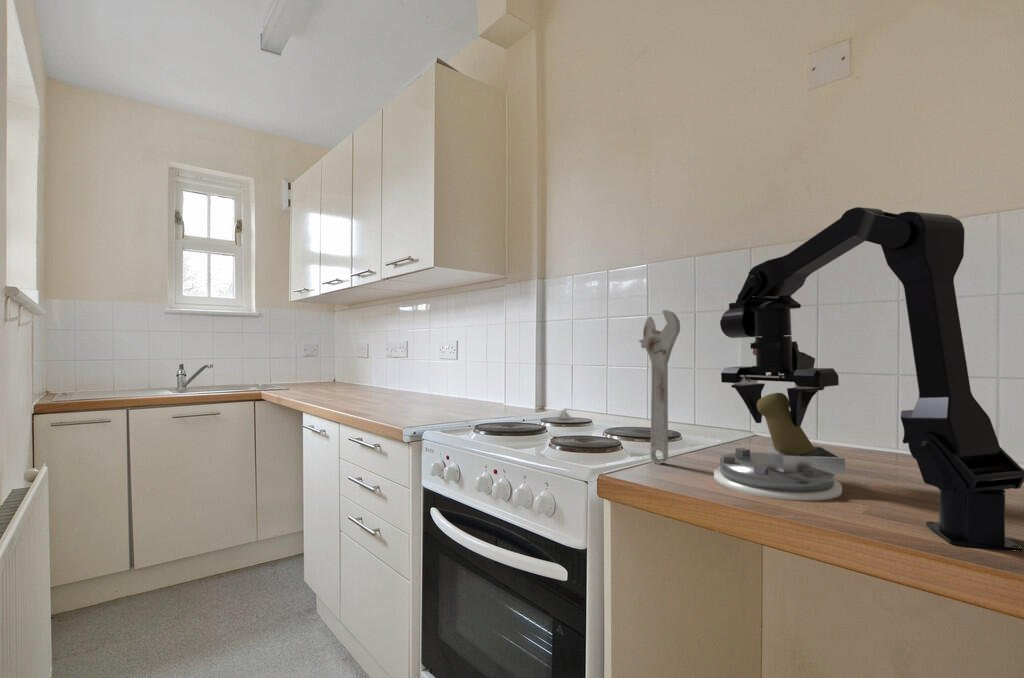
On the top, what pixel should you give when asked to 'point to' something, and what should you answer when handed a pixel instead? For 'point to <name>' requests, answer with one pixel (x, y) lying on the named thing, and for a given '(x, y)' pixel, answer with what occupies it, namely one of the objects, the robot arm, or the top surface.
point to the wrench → (660, 378)
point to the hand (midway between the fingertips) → (777, 425)
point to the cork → (783, 425)
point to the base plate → (777, 494)
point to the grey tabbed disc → (783, 469)
